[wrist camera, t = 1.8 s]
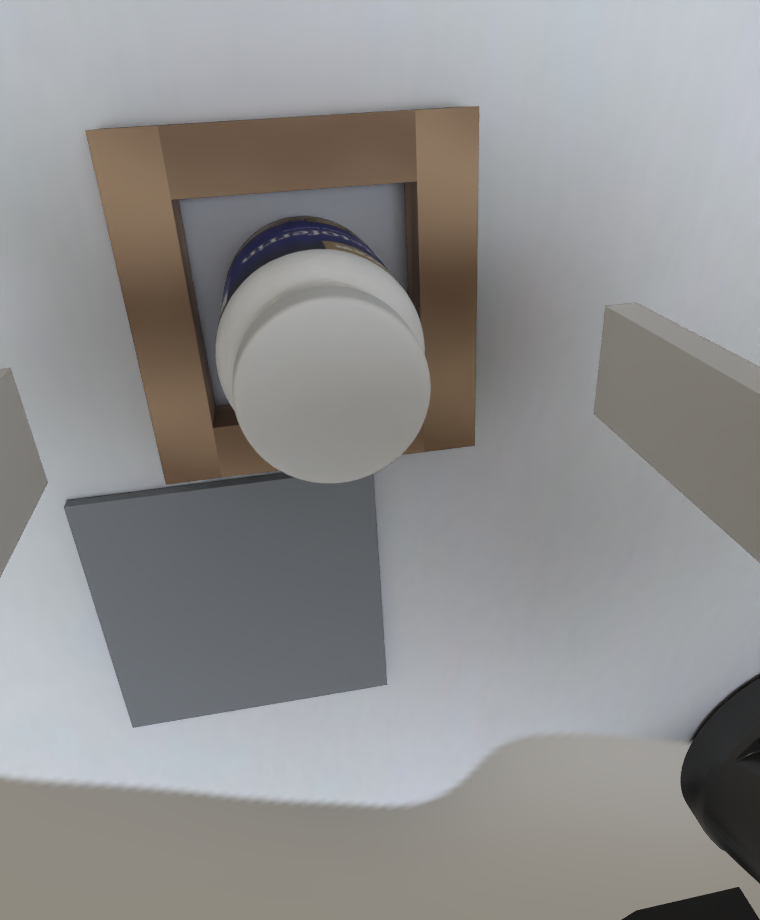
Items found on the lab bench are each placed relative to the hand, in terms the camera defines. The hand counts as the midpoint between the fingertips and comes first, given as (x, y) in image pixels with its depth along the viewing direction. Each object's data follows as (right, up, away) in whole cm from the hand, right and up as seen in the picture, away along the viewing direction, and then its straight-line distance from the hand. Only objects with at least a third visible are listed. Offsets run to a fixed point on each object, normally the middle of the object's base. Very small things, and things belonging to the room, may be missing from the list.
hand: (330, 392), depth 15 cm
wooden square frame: (-2, +4, +9) cm, 10 cm away
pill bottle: (-2, +4, +9) cm, 11 cm away
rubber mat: (-5, -8, +15) cm, 17 cm away
